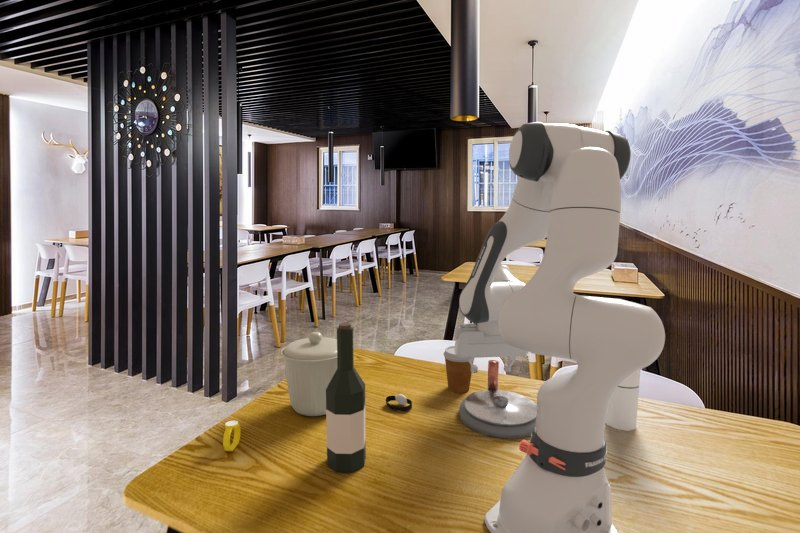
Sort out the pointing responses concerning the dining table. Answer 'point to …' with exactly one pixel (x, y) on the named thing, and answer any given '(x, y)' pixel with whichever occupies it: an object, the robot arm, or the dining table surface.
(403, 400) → the watch
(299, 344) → the canister
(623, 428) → the cylindrical container
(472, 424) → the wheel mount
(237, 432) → the watch
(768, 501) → the dining table surface
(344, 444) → the wine bottle
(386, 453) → the dining table surface
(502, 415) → the handwheel
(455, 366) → the disposable coffee cup
